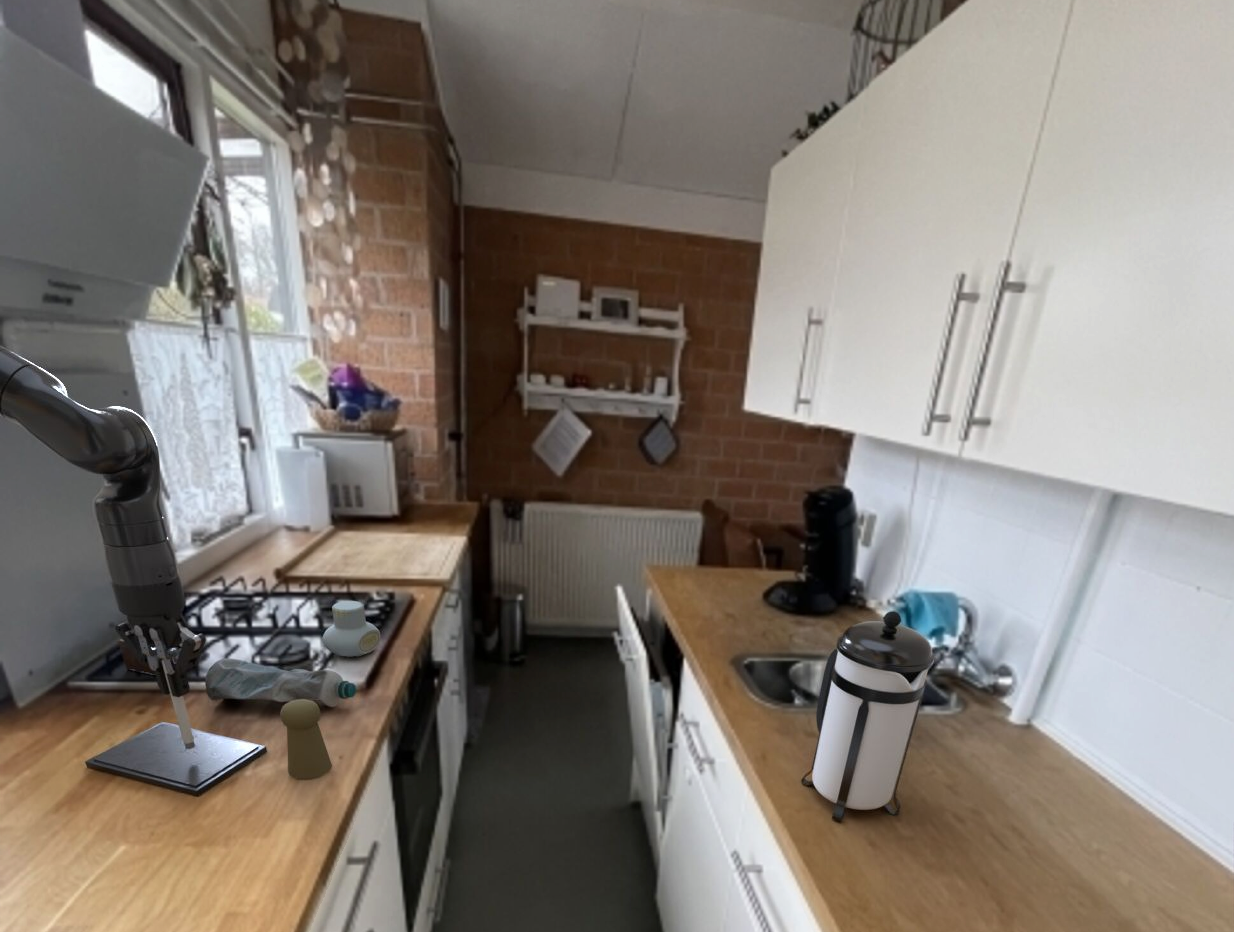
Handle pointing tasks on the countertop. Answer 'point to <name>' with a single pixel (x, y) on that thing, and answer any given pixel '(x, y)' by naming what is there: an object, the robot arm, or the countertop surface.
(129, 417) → the robot arm
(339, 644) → the air freshener
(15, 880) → the countertop surface
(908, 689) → the coffee press
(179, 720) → the stylus
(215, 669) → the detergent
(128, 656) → the pen stand
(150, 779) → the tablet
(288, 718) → the olive green pawn
